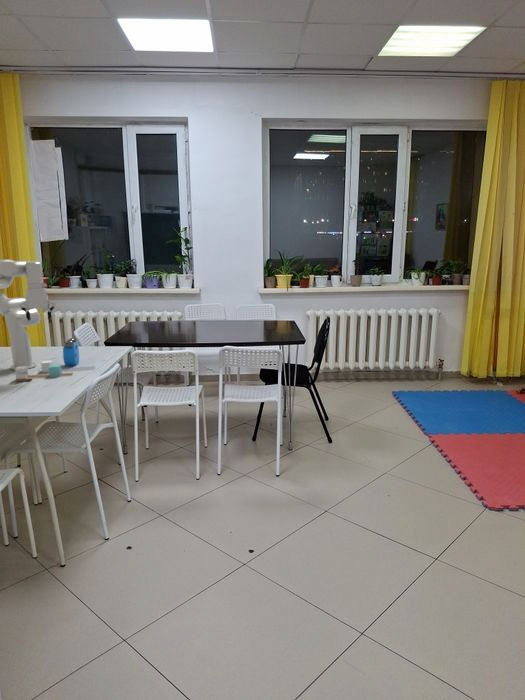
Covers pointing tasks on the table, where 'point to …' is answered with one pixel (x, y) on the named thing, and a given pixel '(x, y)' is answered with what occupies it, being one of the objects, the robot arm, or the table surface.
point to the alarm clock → (71, 352)
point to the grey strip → (46, 365)
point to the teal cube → (55, 370)
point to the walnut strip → (23, 375)
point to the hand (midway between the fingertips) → (39, 319)
